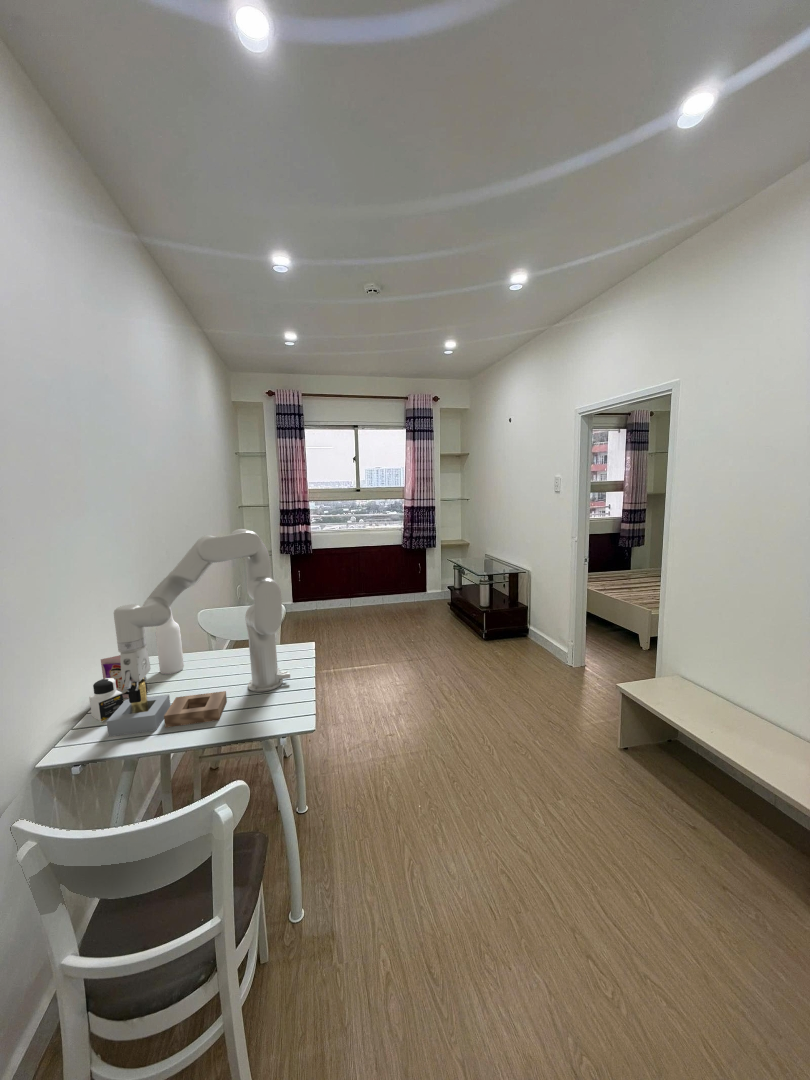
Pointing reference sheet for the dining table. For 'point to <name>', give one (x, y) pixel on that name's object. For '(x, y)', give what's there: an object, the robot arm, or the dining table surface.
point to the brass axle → (143, 704)
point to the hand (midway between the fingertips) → (138, 697)
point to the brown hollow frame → (195, 709)
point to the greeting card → (114, 673)
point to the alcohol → (169, 647)
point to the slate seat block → (138, 717)
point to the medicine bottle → (105, 699)
